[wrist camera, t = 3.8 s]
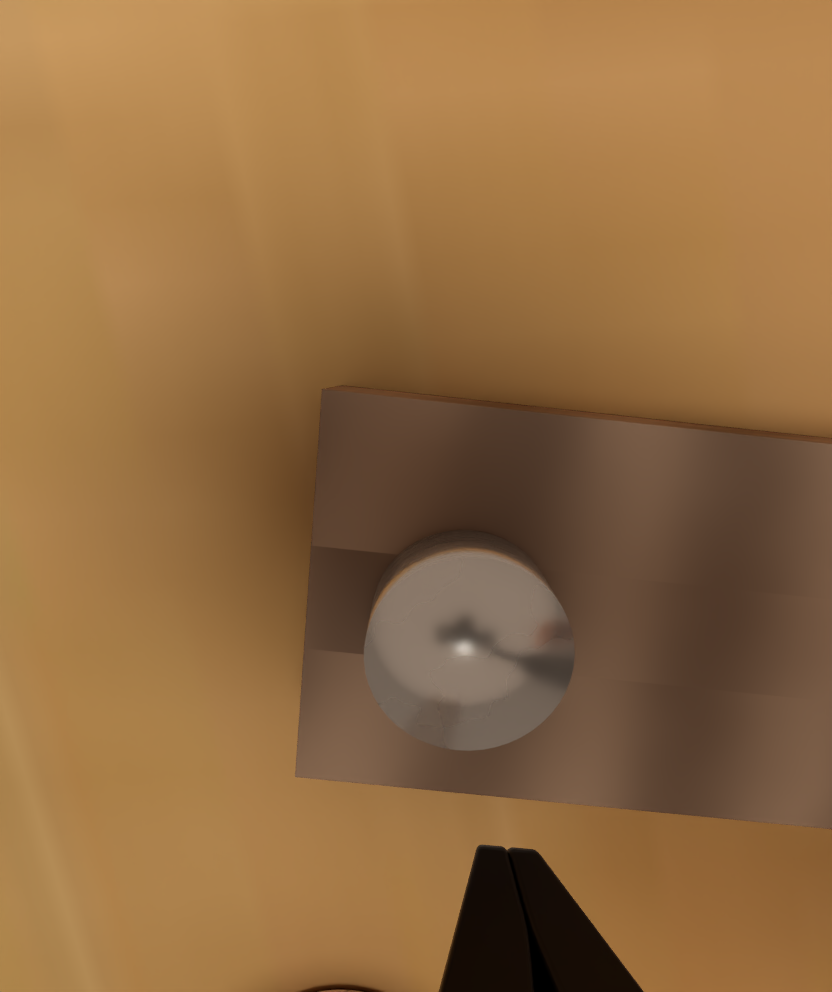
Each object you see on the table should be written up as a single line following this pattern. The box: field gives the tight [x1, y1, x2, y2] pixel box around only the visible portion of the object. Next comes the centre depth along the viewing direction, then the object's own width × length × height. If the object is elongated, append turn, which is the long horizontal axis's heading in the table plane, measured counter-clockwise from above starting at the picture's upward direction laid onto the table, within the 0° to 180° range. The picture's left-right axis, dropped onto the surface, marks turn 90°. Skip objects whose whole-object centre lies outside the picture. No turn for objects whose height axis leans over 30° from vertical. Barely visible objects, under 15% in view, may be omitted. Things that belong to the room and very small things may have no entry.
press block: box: [295, 386, 832, 829], centre depth 19 cm, size 24×12×4 cm, turn 84°
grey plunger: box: [364, 530, 575, 751], centre depth 17 cm, size 5×5×6 cm
